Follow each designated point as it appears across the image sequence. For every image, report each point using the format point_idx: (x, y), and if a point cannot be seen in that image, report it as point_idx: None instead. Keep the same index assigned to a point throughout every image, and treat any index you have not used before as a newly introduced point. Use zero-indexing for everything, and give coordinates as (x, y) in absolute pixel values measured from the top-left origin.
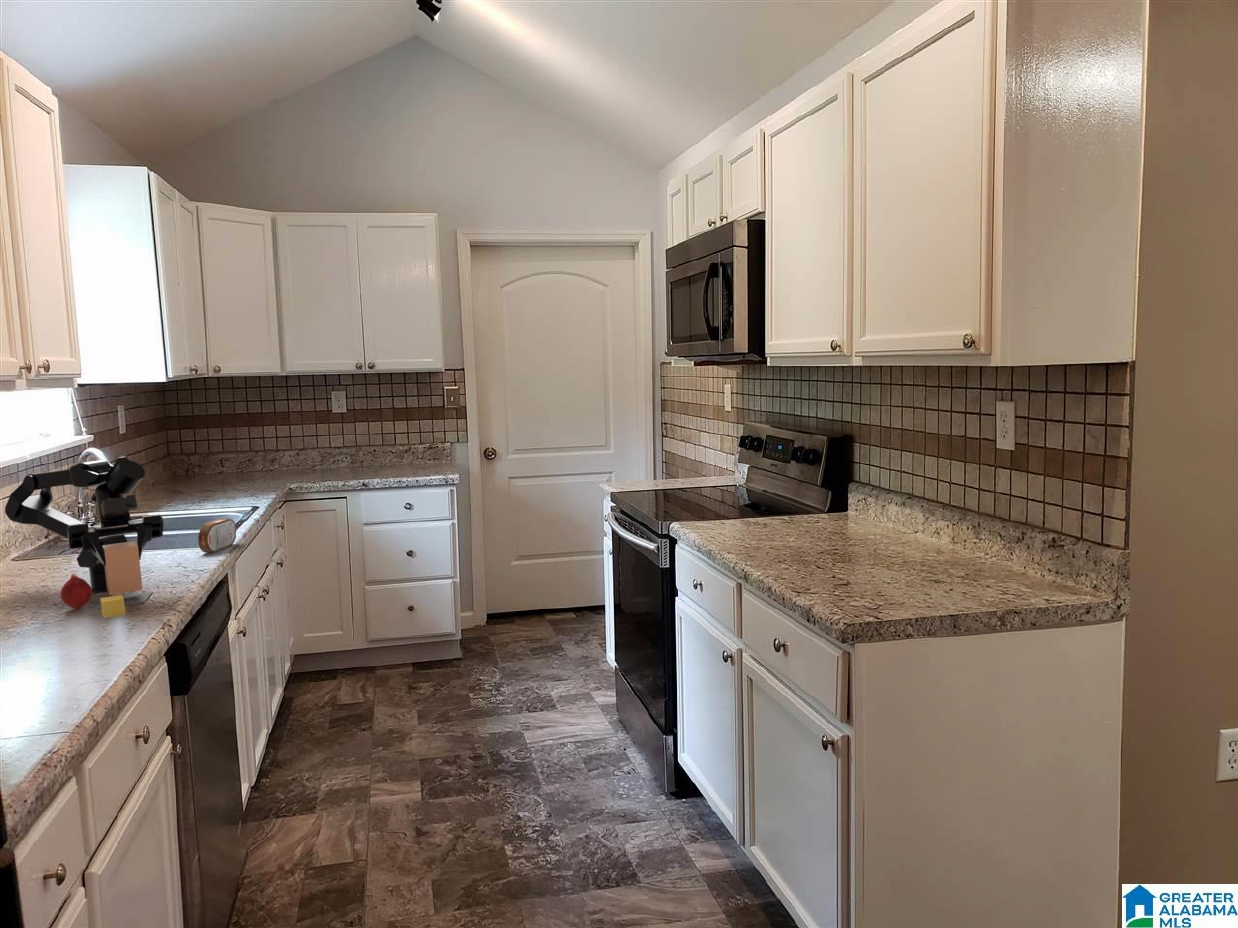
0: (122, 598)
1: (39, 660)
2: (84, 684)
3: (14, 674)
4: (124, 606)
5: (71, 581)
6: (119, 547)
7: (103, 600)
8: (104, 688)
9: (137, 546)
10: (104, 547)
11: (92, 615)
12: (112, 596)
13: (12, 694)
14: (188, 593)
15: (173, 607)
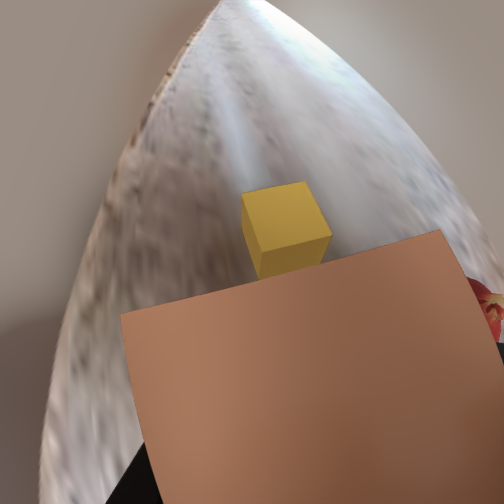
0: (245, 196)
1: (313, 58)
2: (233, 18)
3: (319, 42)
4: (241, 211)
5: (479, 285)
6: (343, 314)
7: (307, 198)
8: (214, 13)
9: (127, 315)
10: (500, 382)
11: (343, 256)
12: (292, 240)
13: (292, 20)
14: (62, 404)
15: (109, 237)
